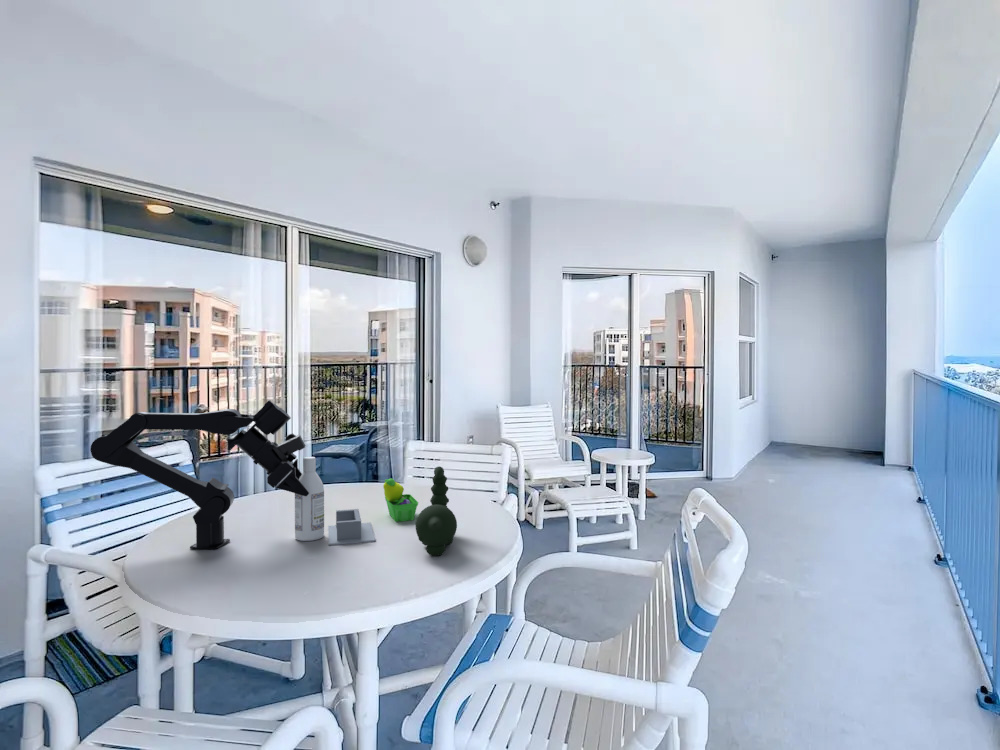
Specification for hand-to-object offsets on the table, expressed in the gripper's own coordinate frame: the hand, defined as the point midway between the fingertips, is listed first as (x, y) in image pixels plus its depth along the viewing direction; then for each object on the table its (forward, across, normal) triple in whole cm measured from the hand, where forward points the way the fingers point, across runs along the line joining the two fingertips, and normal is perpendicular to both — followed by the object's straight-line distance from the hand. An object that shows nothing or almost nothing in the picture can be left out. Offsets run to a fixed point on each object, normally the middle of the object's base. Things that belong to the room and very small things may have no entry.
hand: (308, 490), depth 143 cm
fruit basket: (+26, +13, -8) cm, 30 cm away
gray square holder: (+15, 0, +1) cm, 16 cm away
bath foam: (+9, 0, +8) cm, 12 cm away
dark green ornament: (+30, -16, -12) cm, 36 cm away
